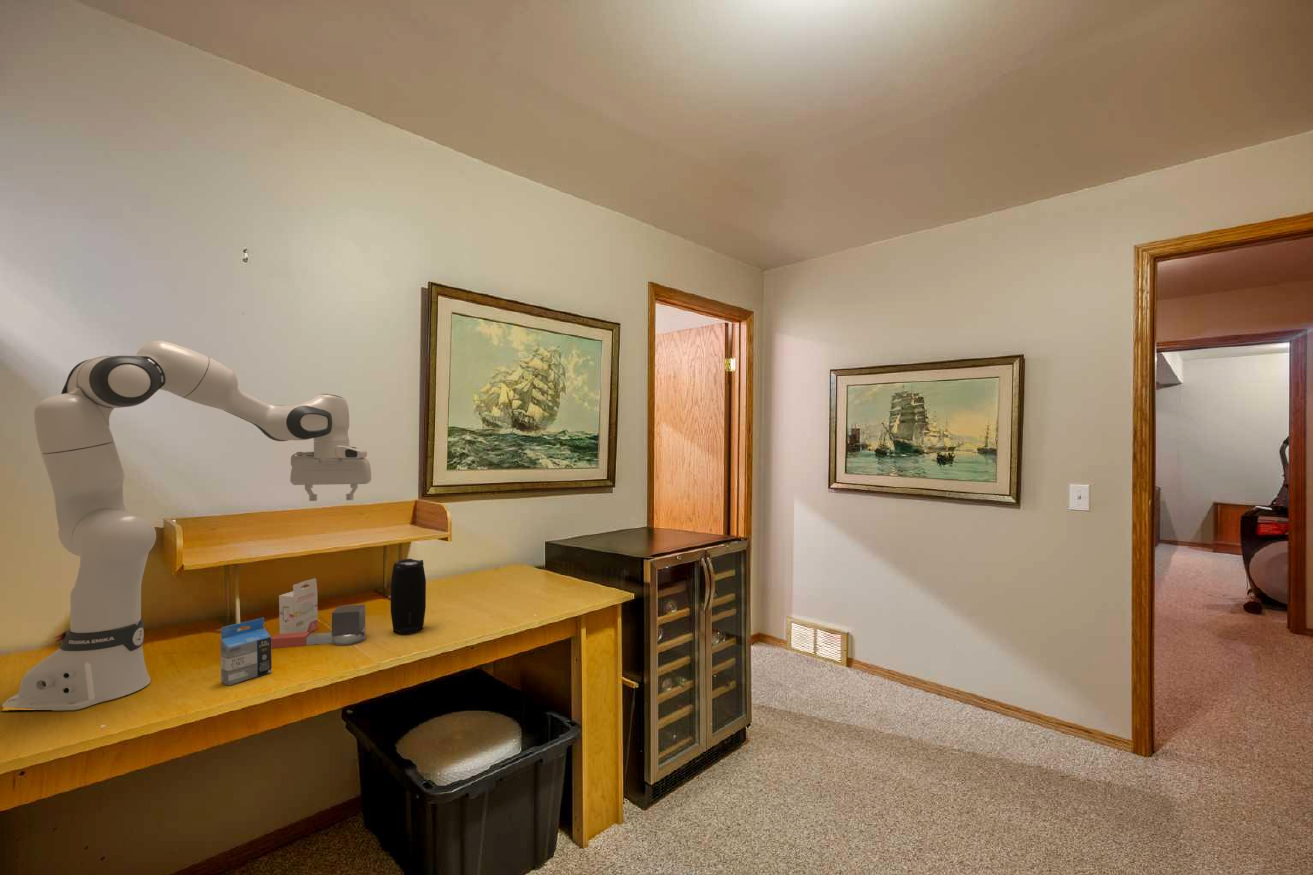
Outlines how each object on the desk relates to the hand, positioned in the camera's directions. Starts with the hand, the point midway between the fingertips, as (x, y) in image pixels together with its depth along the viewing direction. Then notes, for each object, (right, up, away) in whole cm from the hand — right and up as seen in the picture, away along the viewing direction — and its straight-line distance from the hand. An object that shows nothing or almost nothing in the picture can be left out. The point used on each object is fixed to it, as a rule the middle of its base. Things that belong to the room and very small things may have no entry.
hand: (331, 500), depth 166 cm
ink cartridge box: (-7, -37, -4) cm, 38 cm away
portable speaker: (+22, -37, -1) cm, 43 cm away
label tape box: (-1, -37, -33) cm, 50 cm away
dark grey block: (+10, -34, -9) cm, 37 cm away
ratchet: (+3, -36, -11) cm, 38 cm away
